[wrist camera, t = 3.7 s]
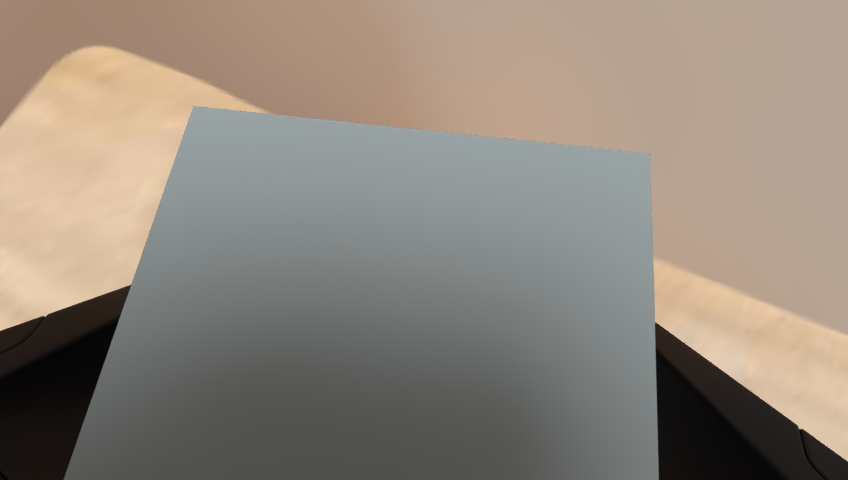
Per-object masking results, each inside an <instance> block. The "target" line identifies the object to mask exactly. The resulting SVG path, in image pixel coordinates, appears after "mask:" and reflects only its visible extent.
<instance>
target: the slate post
mask: <svg viewBox="0 0 848 480" xmlns="http://www.w3.org/2000/svg"><path fill="white" fill-rule="evenodd" d="M64 480H659V466H658V427H657V388H656V349H655V309H654V270H653V232H652V192H651V154H650V153H641V152H631V151H622V150H612V149H602V148H593V147H583V146H573V145H564V144H554V143H545V142H535V141H525V140H516V139H506V138H496V137H487V136H477V135H467V134H457V133H448V132H438V131H429V130H419V129H410V128H400V127H390V126H380V125H370V124H361V123H352V122H342V121H333V120H322V119H313V118H304V117H294V116H284V115H275V114H265V113H256V112H246V111H236V110H227V109H217V108H207V107H198V106H193V109H192V112H191V115H190V118H189V120H188V123H187V126H186V129H185V132H184V135H183V138H182V141H181V143H180V146H179V149H178V152H177V155H176V158H175V161H174V164H173V166H172V169H171V172H170V175H169V178H168V181H167V184H166V187H165V189H164V192H163V195H162V198H161V201H160V204H159V207H158V210H157V212H156V215H155V218H154V221H153V224H152V227H151V230H150V233H149V235H148V238H147V241H146V244H145V247H144V250H143V253H142V256H141V258H140V261H139V264H138V267H137V270H136V273H135V276H134V279H133V281H132V284H131V287H130V290H129V293H128V296H127V299H126V302H125V304H124V307H123V310H122V313H121V316H120V319H119V322H118V325H117V328H116V330H115V333H114V336H113V339H112V342H111V345H110V348H109V351H108V353H107V356H106V359H105V362H104V365H103V368H102V371H101V374H100V376H99V379H98V382H97V385H96V388H95V391H94V394H93V397H92V399H91V402H90V405H89V408H88V411H87V414H86V417H85V420H84V422H83V425H82V428H81V431H80V434H79V437H78V440H77V443H76V445H75V448H74V451H73V454H72V457H71V460H70V463H69V466H68V468H67V471H66V474H65V477H64Z"/></svg>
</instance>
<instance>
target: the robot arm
mask: <svg viewBox="0 0 848 480" xmlns="http://www.w3.org/2000/svg"><path fill="white" fill-rule="evenodd" d="M130 287H131V285H129V286H126V287H124V288H121V289H118V290H115V291H112V292H109V293H107V294H104V295H101V296H98V297H95V298H93V299H90V300H87V301H84V302H81V303H78V304H76V305H73V306H70V307H67V308H64V309H62V310H59V311H56V312H53V313H50V314H48V315H47V316H46V317H45V316H42V317H39V318H36V319H33V320H30V321H27V322H25V323H22V324H19V325H16V326H13V327H10V328H7V329H4V330H2V331H0V480H64V477H65V474H66V471H67V468H68V466H69V463H70V460H71V457H72V454H73V451H74V448H75V445H76V443H77V440H78V437H79V434H80V431H81V428H82V425H83V422H84V420H85V417H86V414H87V411H88V408H89V405H90V402H91V399H92V397H93V394H94V391H95V388H96V385H97V382H98V379H99V376H100V374H101V371H102V368H103V365H104V362H105V359H106V356H107V353H108V351H109V348H110V345H111V342H112V339H113V336H114V333H115V330H116V328H117V325H118V322H119V319H120V316H121V313H122V310H123V307H124V304H125V302H126V299H127V296H128V293H129V290H130ZM655 349H656V388H657V427H658V466H659V480H848V461H846V460H845V459H844V458H842V457H841V456H839V455H838V454H836V453H835V452H834V451H832V450H831V449H829V448H828V447H827V446H825V445H824V444H822V443H821V442H820V441H818V440H817V439H816V438H814V437H813V436H812V435H810V434H809V433H807V432H806V431H805V430H803V429H799V427H798V426H797V425H796V424H795V423H794V422H792V421H791V420H789V419H788V418H787V417H785V416H784V415H783V414H781V413H780V412H778V411H777V410H776V409H774V408H773V407H771V406H770V405H769V404H767V403H766V402H765V401H763V400H762V399H760V398H759V397H758V396H756V395H755V394H754V393H752V392H751V391H749V390H748V389H747V388H745V387H744V386H743V385H741V384H740V383H738V382H737V381H736V380H734V379H733V378H732V377H730V376H729V375H727V374H726V373H725V372H723V371H722V370H721V369H719V368H718V367H716V366H715V365H714V364H712V363H711V362H709V361H708V360H707V359H705V358H704V357H703V356H701V355H700V354H698V353H697V352H696V351H694V350H693V349H692V348H690V347H689V346H687V345H686V344H685V343H683V342H682V341H681V340H679V339H678V338H676V337H675V336H674V335H672V334H671V333H670V332H668V331H667V330H665V329H664V328H663V327H661V326H660V325H659V324H657V323H656V322H655Z"/></svg>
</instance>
